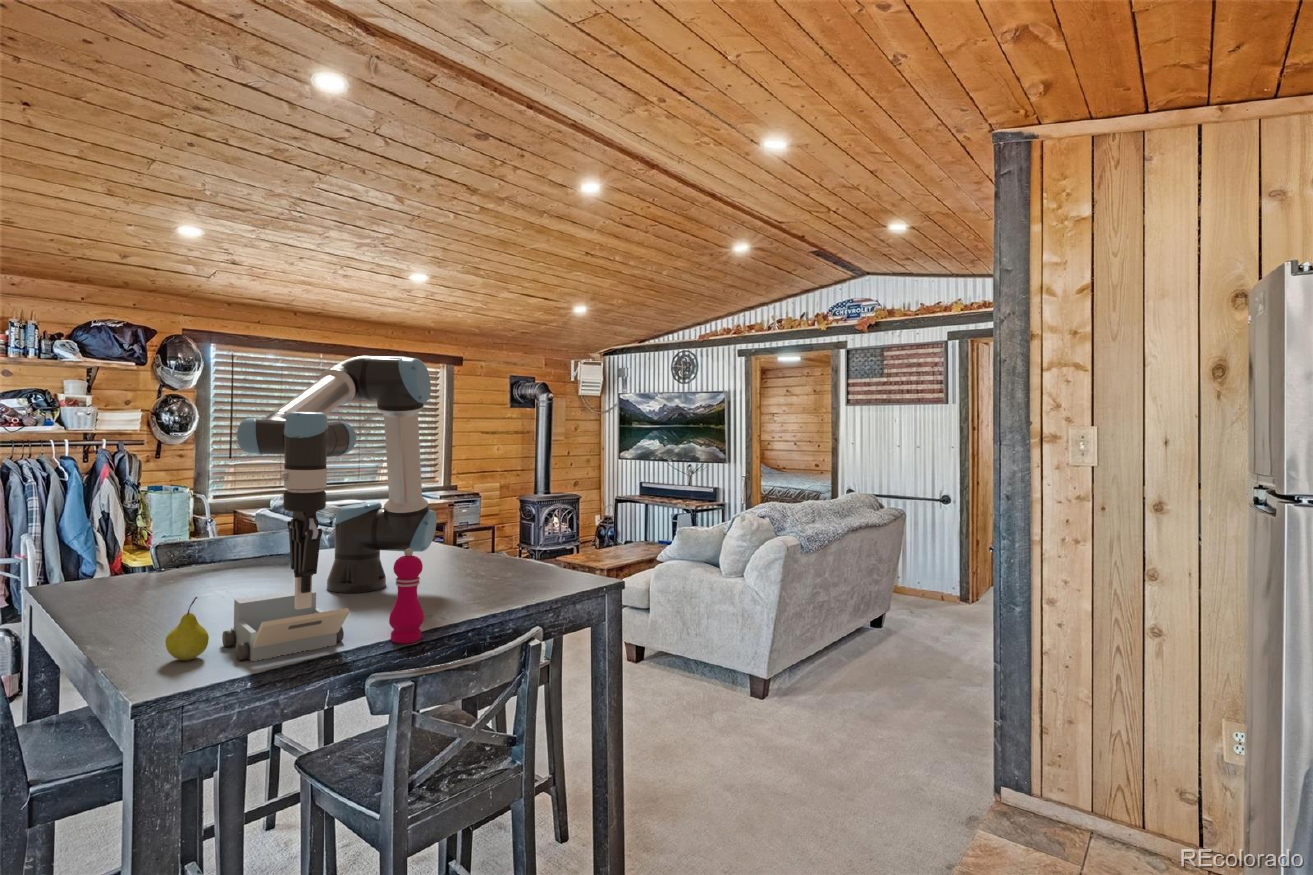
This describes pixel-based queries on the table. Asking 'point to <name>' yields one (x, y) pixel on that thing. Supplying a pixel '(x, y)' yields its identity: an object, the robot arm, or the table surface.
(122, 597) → the table surface
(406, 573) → the pepper mill
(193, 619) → the fruit
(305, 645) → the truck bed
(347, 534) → the robot arm
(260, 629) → the panel
